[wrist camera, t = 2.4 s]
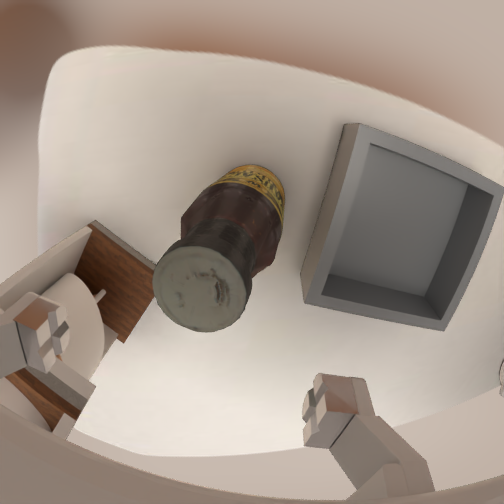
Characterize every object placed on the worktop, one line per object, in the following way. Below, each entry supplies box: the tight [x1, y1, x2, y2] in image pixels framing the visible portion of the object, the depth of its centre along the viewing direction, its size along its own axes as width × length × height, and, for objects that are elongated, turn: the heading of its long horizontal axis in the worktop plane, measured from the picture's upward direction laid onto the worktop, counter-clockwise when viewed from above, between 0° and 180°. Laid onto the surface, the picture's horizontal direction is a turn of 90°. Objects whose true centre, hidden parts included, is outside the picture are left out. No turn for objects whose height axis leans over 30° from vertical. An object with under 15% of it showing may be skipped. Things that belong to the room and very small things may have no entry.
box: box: [300, 123, 504, 331], centre depth 28 cm, size 16×16×6 cm
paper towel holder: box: [0, 220, 156, 440], centre depth 20 cm, size 11×11×35 cm
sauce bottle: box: [152, 165, 285, 332], centre depth 22 cm, size 6×6×20 cm
